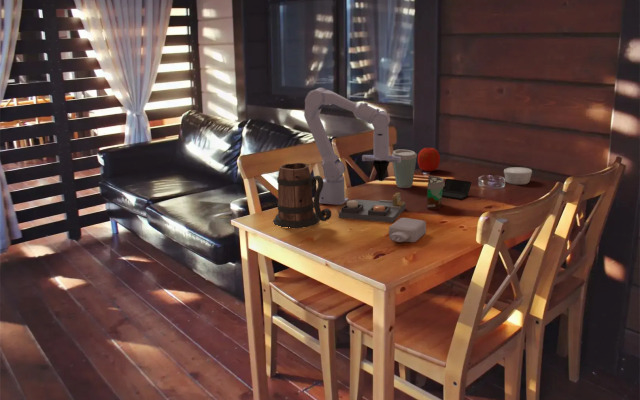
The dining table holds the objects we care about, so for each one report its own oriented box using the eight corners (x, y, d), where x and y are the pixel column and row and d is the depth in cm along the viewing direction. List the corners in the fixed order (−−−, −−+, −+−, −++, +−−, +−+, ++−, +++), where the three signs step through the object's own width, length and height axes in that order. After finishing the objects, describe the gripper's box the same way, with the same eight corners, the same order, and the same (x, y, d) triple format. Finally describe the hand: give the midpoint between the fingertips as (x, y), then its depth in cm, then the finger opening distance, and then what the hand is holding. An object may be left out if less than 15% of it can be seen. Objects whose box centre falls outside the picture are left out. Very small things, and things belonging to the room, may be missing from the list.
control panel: (338, 217, 210) (338, 208, 209) (354, 204, 225) (353, 195, 224) (393, 222, 203) (393, 213, 202) (405, 208, 218) (405, 199, 217)
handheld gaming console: (434, 194, 230) (442, 171, 232) (437, 200, 236) (445, 178, 238) (463, 201, 225) (471, 178, 227) (465, 207, 231) (473, 185, 234)
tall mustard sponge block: (392, 206, 213) (392, 196, 212) (396, 202, 218) (396, 192, 216) (401, 207, 212) (401, 196, 211) (404, 203, 216) (404, 192, 215)
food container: (444, 210, 214) (445, 184, 211) (427, 210, 215) (427, 183, 212) (444, 200, 226) (444, 175, 223) (428, 200, 227) (428, 175, 224)
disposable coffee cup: (420, 184, 249) (421, 149, 245) (410, 190, 240) (410, 155, 236) (398, 181, 255) (398, 147, 250) (387, 187, 246) (386, 152, 242)
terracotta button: (372, 213, 207) (372, 208, 206) (375, 210, 210) (375, 204, 210) (383, 214, 205) (383, 209, 205) (386, 211, 209) (386, 205, 208)
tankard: (262, 222, 208) (259, 167, 202) (293, 210, 220) (291, 158, 215) (314, 235, 194) (312, 176, 188) (344, 221, 206) (343, 166, 200)
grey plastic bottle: (380, 245, 184) (399, 230, 196) (408, 249, 179) (426, 234, 192) (380, 230, 182) (399, 217, 195) (408, 235, 178) (426, 220, 190)
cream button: (345, 208, 210) (345, 202, 209) (348, 204, 213) (348, 199, 213) (355, 209, 208) (355, 203, 208) (359, 205, 212) (359, 200, 211)
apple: (417, 173, 268) (417, 148, 264) (417, 168, 277) (417, 144, 274) (439, 173, 266) (440, 148, 263) (439, 168, 275) (439, 144, 272)
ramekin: (497, 181, 251) (498, 169, 249) (518, 177, 255) (518, 165, 254) (516, 187, 241) (517, 174, 240) (537, 183, 245) (538, 171, 244)
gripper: (359, 146, 217) (359, 181, 221) (397, 147, 212) (397, 184, 215) (365, 142, 223) (365, 177, 227) (402, 144, 218) (402, 179, 222)
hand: (381, 180), depth 222 cm, fingers closed
